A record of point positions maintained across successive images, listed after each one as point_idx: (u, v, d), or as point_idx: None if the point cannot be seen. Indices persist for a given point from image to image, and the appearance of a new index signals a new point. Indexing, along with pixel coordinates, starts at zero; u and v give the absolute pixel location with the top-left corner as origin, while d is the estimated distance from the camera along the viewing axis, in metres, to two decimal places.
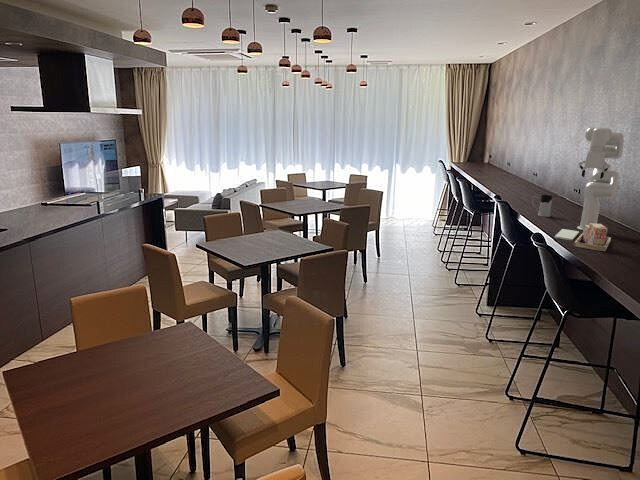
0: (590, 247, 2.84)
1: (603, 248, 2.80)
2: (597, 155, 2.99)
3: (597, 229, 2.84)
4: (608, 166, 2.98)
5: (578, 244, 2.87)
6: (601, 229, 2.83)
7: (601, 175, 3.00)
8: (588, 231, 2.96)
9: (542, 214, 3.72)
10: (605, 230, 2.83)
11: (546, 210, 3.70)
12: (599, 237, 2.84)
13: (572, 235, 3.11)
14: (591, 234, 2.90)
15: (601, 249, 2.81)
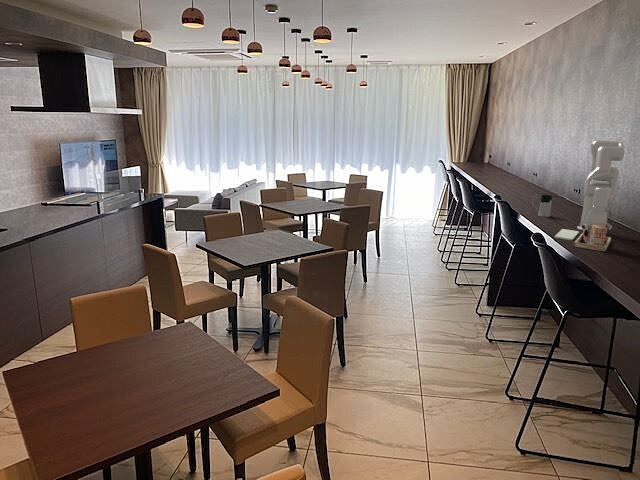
0: (590, 247, 2.84)
1: (603, 248, 2.80)
2: (599, 215, 2.89)
3: (597, 229, 2.84)
4: (609, 227, 2.88)
5: (578, 244, 2.87)
6: (601, 229, 2.83)
7: None
8: (588, 231, 2.96)
9: (542, 214, 3.72)
10: (605, 230, 2.83)
11: (546, 210, 3.70)
12: (598, 237, 2.85)
13: (572, 235, 3.11)
14: (591, 234, 2.90)
15: (601, 249, 2.81)
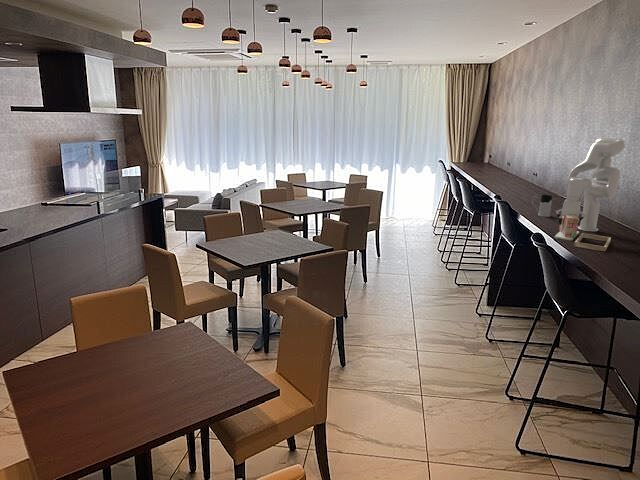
0: (590, 247, 2.84)
1: (603, 248, 2.80)
2: (573, 205, 3.07)
3: (569, 219, 3.03)
4: (583, 215, 3.07)
5: (578, 244, 2.87)
6: (573, 219, 3.03)
7: None
8: (563, 221, 3.15)
9: (542, 214, 3.72)
10: (577, 220, 3.02)
11: (546, 210, 3.70)
12: (571, 226, 3.04)
13: None
14: (565, 224, 3.10)
15: (601, 249, 2.81)
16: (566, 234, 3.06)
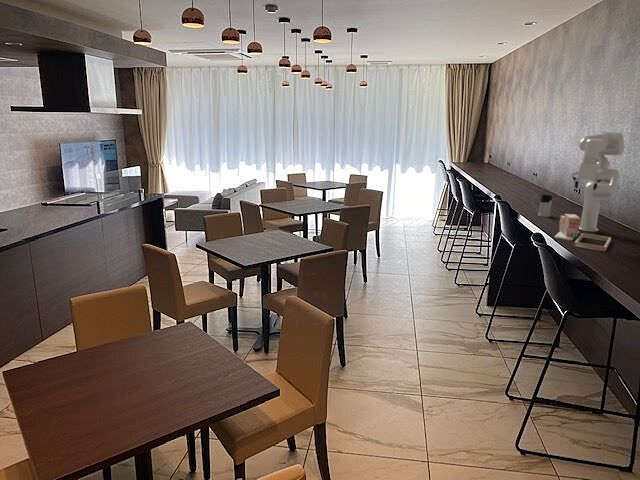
0: (590, 247, 2.84)
1: (603, 248, 2.80)
2: (590, 167, 2.96)
3: (571, 219, 3.03)
4: (601, 177, 2.96)
5: (578, 244, 2.87)
6: (574, 219, 3.02)
7: (594, 186, 2.98)
8: (563, 221, 3.15)
9: (542, 214, 3.72)
10: (578, 220, 3.02)
11: (546, 210, 3.70)
12: (572, 227, 3.04)
13: None
14: (566, 224, 3.10)
15: (601, 249, 2.81)
16: (568, 234, 3.05)
